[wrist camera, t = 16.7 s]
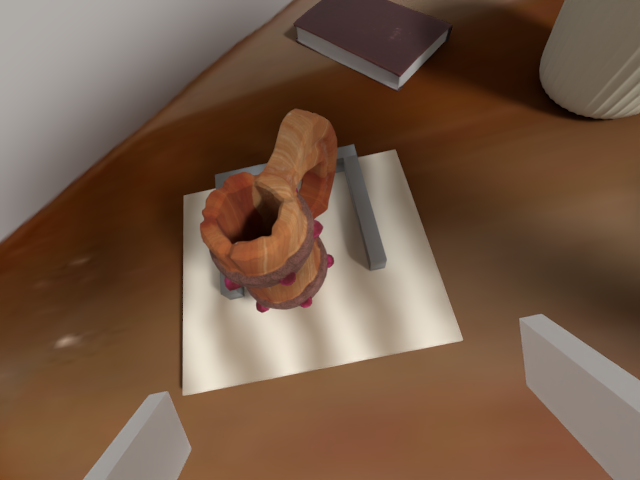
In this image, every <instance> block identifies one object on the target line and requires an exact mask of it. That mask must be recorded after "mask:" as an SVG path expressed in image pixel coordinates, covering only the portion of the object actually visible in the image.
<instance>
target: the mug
mask: <svg viewBox="0 0 640 480" xmlns="http://www.w3.org/2000/svg"><path fill="white" fill-rule="evenodd" d="M336 160H337V138H336V135H335V131H334V129H333V127H332V125H331V123H330V121H329V120H327V119H326V118H324V117H322V116H319V115H318V114H316V113H311V112H309V111H303V110H300V109H296V108H295V109H293V110H291V111H290V112H289V113H287V114H286V116H285V118H284V119H283V121H282V123H281V125H280V129H279V133H278V136H277V140H276V144H275V147H274V151H273V153H272V155H271V157H270V159H269V161H268V163H267V165H266V166H265V168H264V170H263V171H262V172H261V173H260V174H259V175H252V174H251V173H248V172H241V173H238V174H235V175H232V176H229V177H228V178H227V179H226V180H225V181H224V183H223V186H222V188H220V189H216V190H213V191H212V192H211V193H210V194H209V196H208V197H207V199H206V203H205V208H204V209H203V210H202V215H203V217H204V221H203V222H201V223H200V232H201V238H202V239H203V242H204V243H205V244H206V246H207V247H208V248H209V252H210V255H211V258H212V261H213V262H214V264H215V266H216V267H217V269H218V270H219V271H220V272H221V273H222V274H223V275H224V276H225V279H224V282H225V287H226V288H227V289H228V290H229V291H232V290H235V289H238V288H240V287H242V286H244V287H246V289H247V290H248V292H249V294H250V295H251V296H252V297H253V298H254V299H255V300H256V301H257V302H256V309H257V310H258V311H259V312H261V313H263V312H266V311H268V310H269V309H270V308H272V309H280V310H287V309H292V308H295V307H298V306H301V307H303V308H307V307H309V306H311V304H312V298H313V297H314V296H315V295H316V293H317V292H318V291H319V290H320V288H321V286H322V285H323V283H324V280H325V278H326V275H327V270H328V268H330V267H331V266H332V265H333V264H334V258H333V256H332V255H330V254H327V252H326V249H325V247H324V245H323V243H322V241H321V239H320V237H319V235H320V234H321V232H322V230H323V226H322V224H321V223H320V222H319V221H317V220H314V219H315V218H316V217H318V216H319V215H321V214H322V213H324V212H325V211H326V210H327V209H328V203H329V198H330V194H331V190H332V186H333V181H334V176H335V170H336ZM301 179H302V182H301V188H300V189H299V192H298V190H297V185H298V184H299V182H300V180H301Z"/></svg>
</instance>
